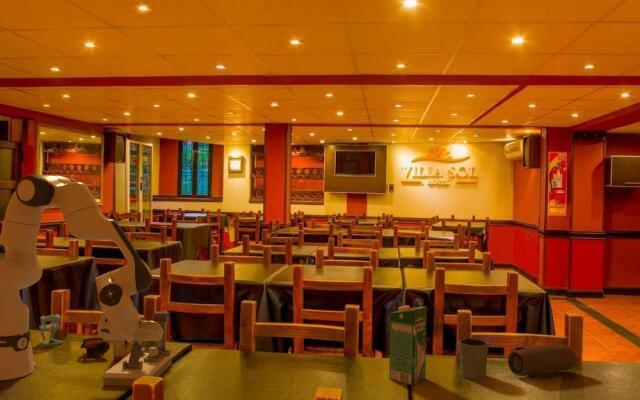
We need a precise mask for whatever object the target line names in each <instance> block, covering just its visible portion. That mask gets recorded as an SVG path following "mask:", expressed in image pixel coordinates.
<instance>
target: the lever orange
mask: <svg viewBox="0 0 640 400" xmlns="http://www.w3.org/2000/svg"><path fill="white" fill-rule="evenodd" d="M144 342H145V341H142V343H141V345H131V348H132V350H131V354H130V358H129V362H128V363H126V368H136V369H138V368H139V359H140V355H141V351H142V348H144V347H143V346H144Z"/></svg>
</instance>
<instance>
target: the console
mask: <svg viewBox="0 0 640 400" xmlns="http://www.w3.org/2000/svg"><path fill="white" fill-rule="evenodd" d="M166 350H167V355H163V354H158V357H157V358H149V352H145V353H144V354H143V355H140V359H139V368H138V369H136V368H126V363H128V362H129V358H130V354H131V353H130V354H129V355H127V356H126V357H125V358H123V359H122V360H121V361H117V363H116V364H114V365H113V366H112V367H110V368H109V369H108V370H106V371H105V372H104V377H103V386H118V387H120V386H121V387H133V386H132V384H133V382H134V381H135V380H136V379H138V378H140V377H142V376H146V375H148V376H157V377H158V378H160V376H162V374H164V373H165V372H166V370H168V368H170V367H171V365H172V363H173V362H172V353H171V348H170V347H169V348H166Z"/></svg>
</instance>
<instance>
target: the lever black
mask: <svg viewBox="0 0 640 400" xmlns="http://www.w3.org/2000/svg"><path fill="white" fill-rule="evenodd" d="M169 313H170V312H169V311H157V310H156V311H155V312H154V313H153V321H155V322H157V323H158V324H159V325H160V326H161V328H162V329H163V336H162V339H161V340H160V341H156V344H155V345H156V346H155V347H158V354H163V355H167V322H169V318H170V317H169Z"/></svg>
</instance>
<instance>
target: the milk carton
mask: <svg viewBox="0 0 640 400" xmlns="http://www.w3.org/2000/svg"><path fill="white" fill-rule="evenodd" d="M427 308H428V306H417V307H410V305H403V306H399V307H397V309H398V310H396V311H393V312H390V314H389V315H390V316H389V317H390V318H389V319H390V320H389V321H390V322H389V323H390V324H389V326H390V327H389V378H388V379H389V380H390V381H395V382H397V383H398V382H399V383H402V384H406V385H408V386H409V385H410V386H414V385H416V384H417V383H419V382H421V381H423V380H425V379H426V377H427V376H426V375H427V374H426V373H427V372H426V369H427V368H426V366H427V365H426V364H427V320H428V319H427V315H428V309H427Z"/></svg>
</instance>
